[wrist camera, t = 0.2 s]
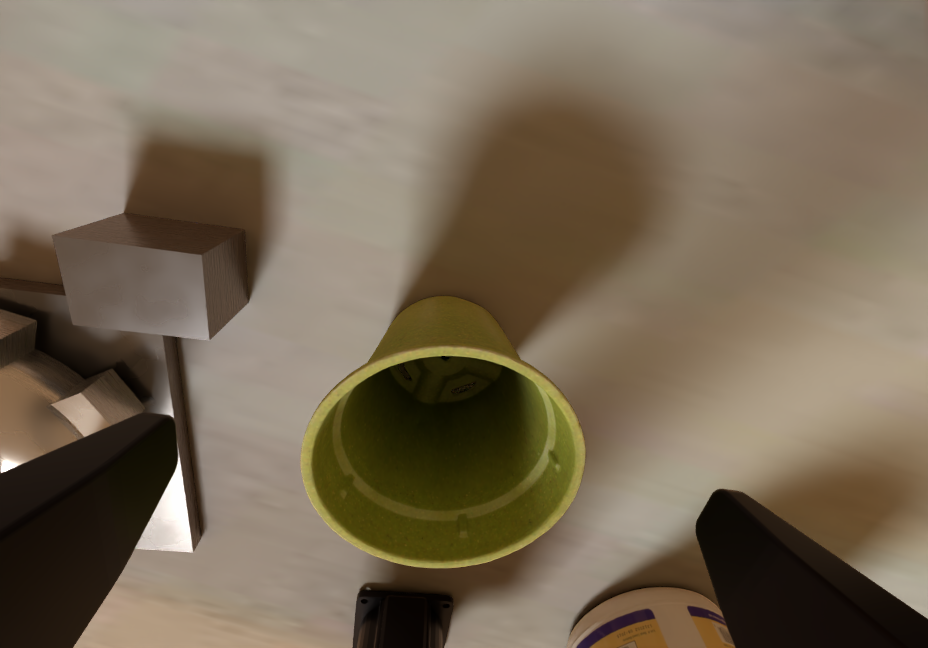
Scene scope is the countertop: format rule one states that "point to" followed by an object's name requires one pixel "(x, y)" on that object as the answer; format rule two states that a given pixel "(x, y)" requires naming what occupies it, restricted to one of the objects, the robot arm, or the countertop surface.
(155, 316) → the taupe rectangular block
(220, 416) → the countertop surface
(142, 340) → the base plate
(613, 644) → the supplement tub
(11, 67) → the countertop surface
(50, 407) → the grey cog wheel
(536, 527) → the plant pot
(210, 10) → the countertop surface
